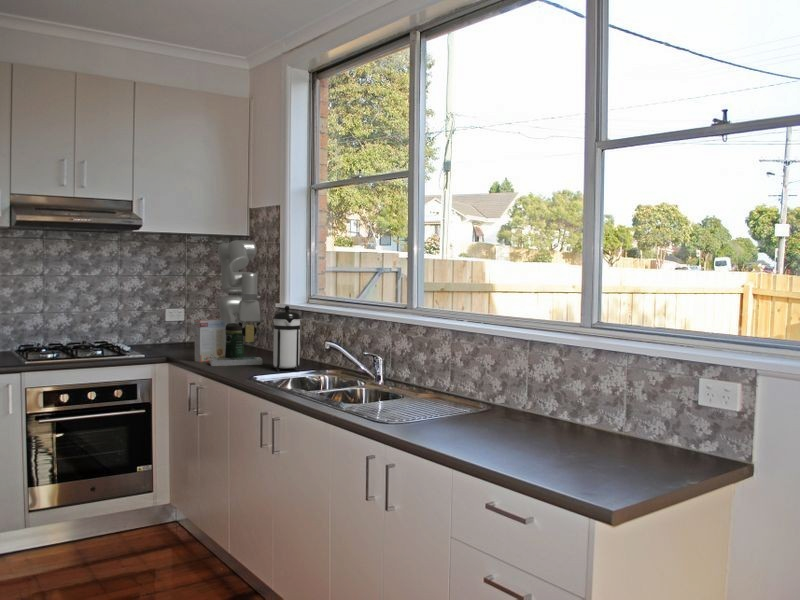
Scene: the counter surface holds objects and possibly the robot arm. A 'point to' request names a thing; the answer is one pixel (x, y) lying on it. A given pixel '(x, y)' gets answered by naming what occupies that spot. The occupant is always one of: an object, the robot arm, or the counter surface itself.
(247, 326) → the brass post
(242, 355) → the coffee jar
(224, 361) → the rail
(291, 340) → the coffee press
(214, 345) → the cracker box
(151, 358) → the counter surface
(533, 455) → the counter surface
